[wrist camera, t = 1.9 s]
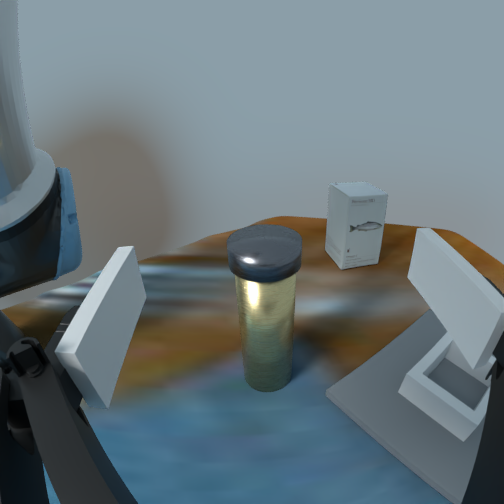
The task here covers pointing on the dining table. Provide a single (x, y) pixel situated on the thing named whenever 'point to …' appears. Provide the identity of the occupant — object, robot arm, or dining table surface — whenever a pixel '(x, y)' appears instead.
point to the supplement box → (355, 223)
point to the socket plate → (421, 404)
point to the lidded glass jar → (266, 300)
